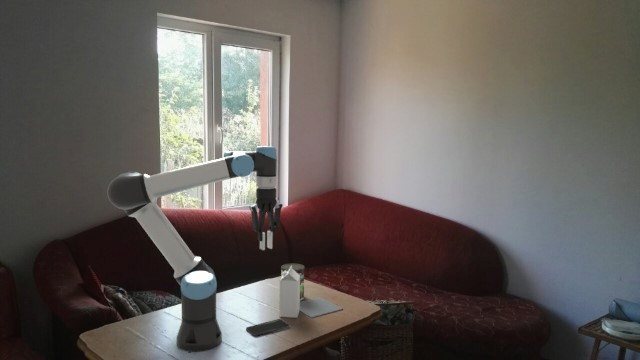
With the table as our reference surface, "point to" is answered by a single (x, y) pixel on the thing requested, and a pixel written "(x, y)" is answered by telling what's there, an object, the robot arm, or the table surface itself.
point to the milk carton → (289, 294)
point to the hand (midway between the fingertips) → (266, 248)
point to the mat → (317, 307)
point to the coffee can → (300, 271)
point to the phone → (267, 327)
